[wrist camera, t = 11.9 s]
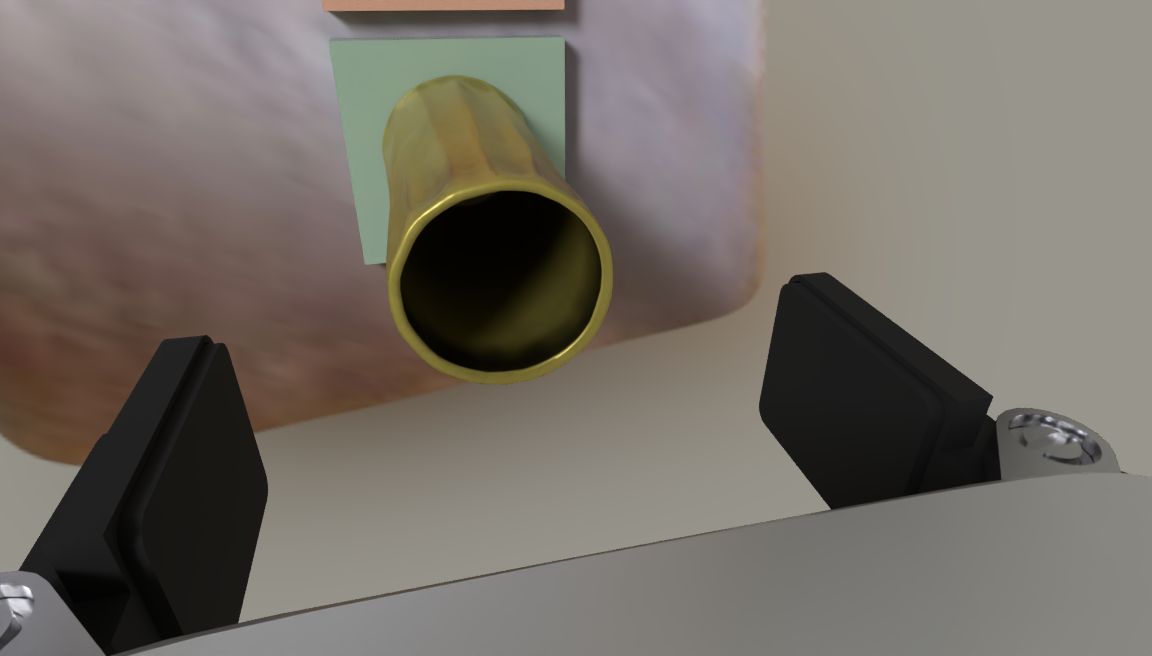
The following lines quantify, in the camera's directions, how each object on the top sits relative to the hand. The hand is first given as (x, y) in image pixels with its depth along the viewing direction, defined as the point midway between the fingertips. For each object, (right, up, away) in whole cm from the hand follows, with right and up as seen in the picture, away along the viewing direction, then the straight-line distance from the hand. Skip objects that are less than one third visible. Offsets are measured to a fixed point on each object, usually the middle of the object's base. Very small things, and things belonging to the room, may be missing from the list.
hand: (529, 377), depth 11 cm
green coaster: (-4, +8, +17) cm, 19 cm away
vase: (-4, +8, +16) cm, 19 cm away
